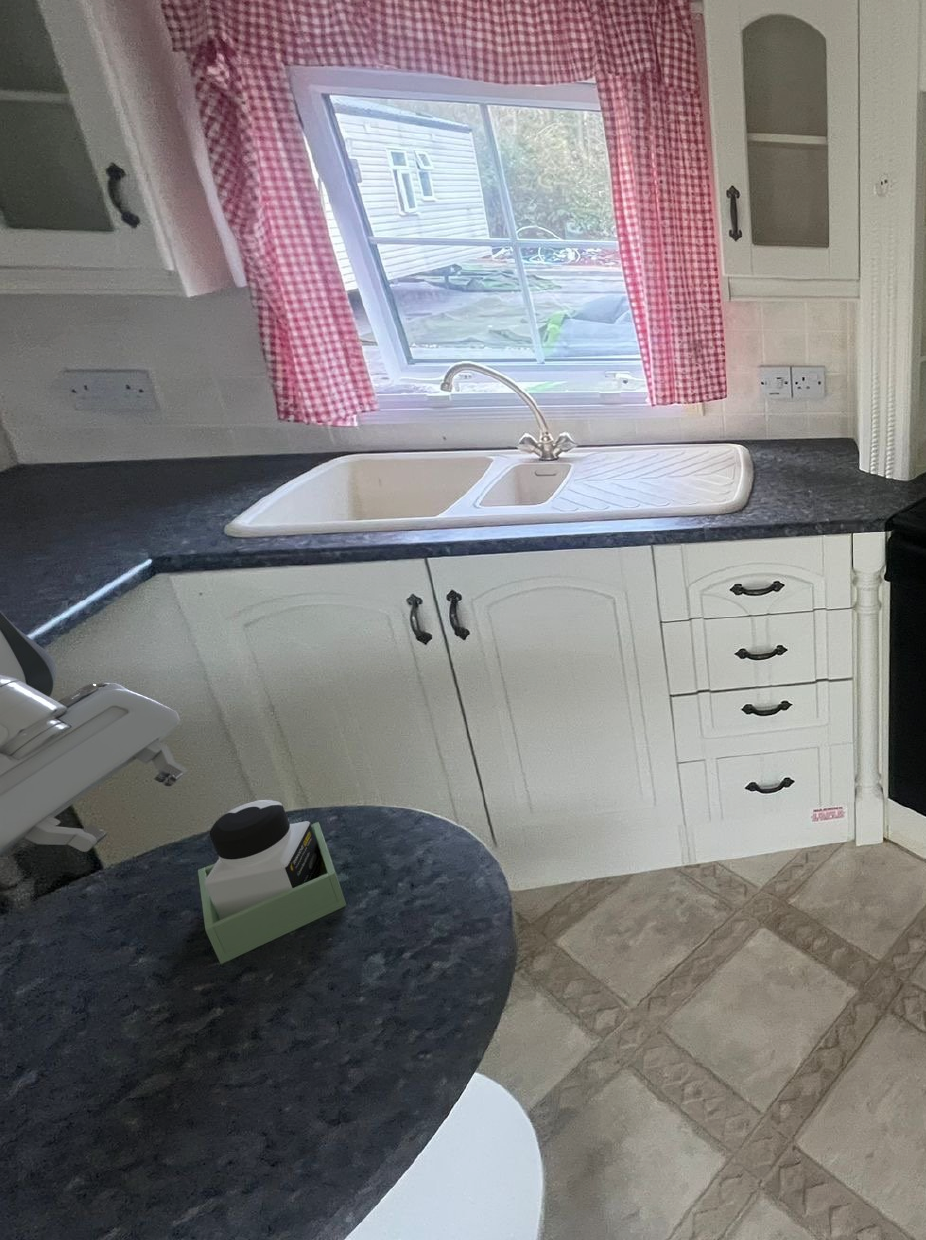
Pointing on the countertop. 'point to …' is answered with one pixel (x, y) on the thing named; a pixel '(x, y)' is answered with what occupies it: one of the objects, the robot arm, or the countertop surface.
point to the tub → (272, 910)
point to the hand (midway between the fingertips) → (140, 809)
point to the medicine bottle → (259, 856)
